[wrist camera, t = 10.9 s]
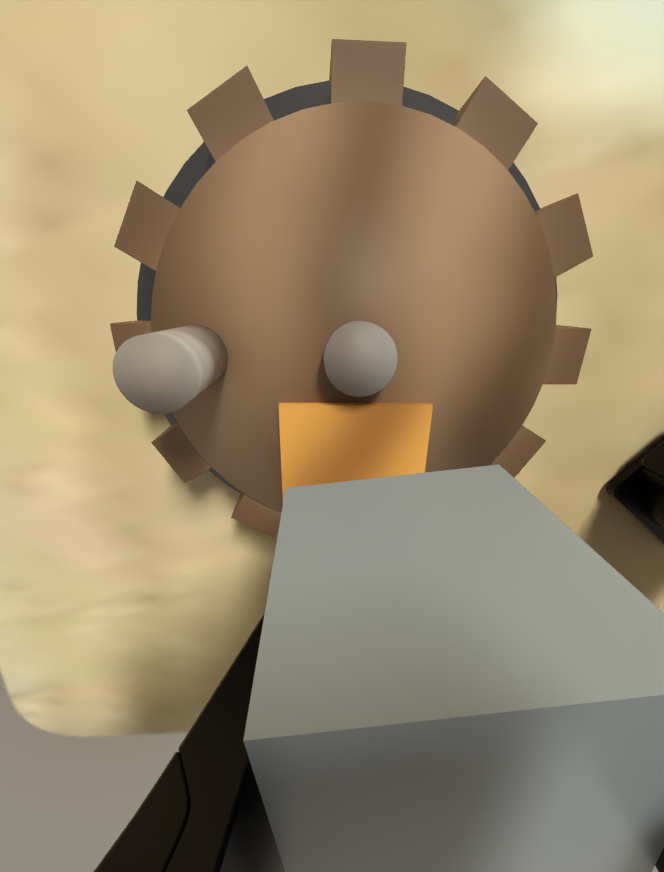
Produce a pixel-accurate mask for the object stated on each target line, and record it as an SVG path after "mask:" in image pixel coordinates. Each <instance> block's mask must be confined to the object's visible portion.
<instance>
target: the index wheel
mask: <svg viewBox="0 0 664 872" xmlns="http://www.w3.org/2000/svg"><path fill="white" fill-rule="evenodd" d="M405 54H406V43H403V42H382V41H361V40H341V39H332V46H331V62H330V78H329V104H326V105H321V106H316V107H312V108H307V109H302V110H300V111H297V112H295V113H292V114H290V115H287V116H285V117H282V118H279V119H277V120H274V119H273V117H272V115H271V113H270V111H269V109H268V107H267V105H266V103H265V101H264V99H263V97H262V95H261V93H260V91H259V89H258V87H257V85H256V83H255V81H254V79H253V77H252V75H251V73H250V71H249V69H248V66H246V67H244V68H243V69H242V70H240V71H239V72H238V73H236V74H235V75H234V76H232V77H231V78H230V79H228V80H227V81H226V82H224V83H223V84H221V85H220V86H219V87H217V88H216V89H215V90H213V91H212V92H211V93H209V94H208V95H207V96H205V97H204V98H203V99H201V100H200V101H199V102H197V103H196V104H195V105H193V106H192V107H190V108H189V109H188V110H187V111H188V113H189V115H190V117H191V119H192V120H193V122H194V124H195V126H196V127H197V129H198V131H199V133H200V135H201V136H202V138H203V140H204V142H205V144H206V145H207V147H208V149H209V151H210V152H211V154H212V156H213V158H214V160H215V161H216V162H215V163H214V164H213V165H212V167H211V168H210V169H209V170H208V171H207V172H206V173H205V174H204V176H203V177H202V178H201V179H200V180H199V181H198V182H197V183H196V185H195V186H194V188H193V189H192V191H191V193H190V194H189V196H188V197H187V199H186V200H185V202H184V203H183V205H182V206H181V208H179V207H177V206H176V205H174V204H173V203H171V202H170V201H168V200H166V199H165V198H163V197H162V196H160V195H159V194H157V193H155V192H154V191H152V190H151V189H149V188H148V187H146V186H144V185H143V184H141V183H140V182H138V181H136V184H135V187H134V190H133V193H132V196H131V199H130V202H129V205H128V207H127V210H126V213H125V216H124V219H123V222H122V225H121V228H120V231H119V234H118V237H117V240H116V243H115V246H114V247H116V248H118V249H119V250H121V251H123V252H124V253H126V254H128V255H130V256H131V257H133V258H135V259H136V260H138V261H140V262H142V263H143V264H145V265H147V266H148V267H150V268H152V269H154V270H155V271H156V274H155V281H154V287H153V293H152V306H151V321H129V322H120V323H111V324H110V326H111V331H112V335H113V340H114V345H115V350H116V354H115V357H114V360H113V375H114V379H115V382H116V384H117V386H118V388H119V390H120V391H121V393H122V394H123V395H124V396H125V398H126V399H127V400H128V401H130V402H131V403H132V404H133V405H135V406H136V407H138V408H140V409H142V410H144V411H147V412H151V413H156V414H166V413H171V412H173V414H174V416H175V418H176V420H177V423H175V424H173V425H172V426H170V427H169V428H168V429H166V430H165V431H164V432H163V433H162V434H161V435H160V436H158V437H157V438H156V439H155V440H154V441H153V442H151V443H152V444H153V445H154V446H155V448H156V449H157V450H158V451H159V452H160V454H161V455H162V456H163V457H164V458H165V460H166V461H167V462H168V463H169V464H170V466H171V467H172V468H173V469H174V470H175V472H176V473H177V474H178V475H179V476H180V478H181V479H182V480H183V481H184V482H187V481H189V480H191V479H192V478H194V477H196V476H198V475H200V474H201V473H203V472H205V471H207V470H209V469H210V468H213V469H214V470H215V471H216V472H218V473H219V474H220V475H221V476H222V477H223V478H224V479H225V480H226V481H228V482H229V483H230V484H232V485H233V486H235V487H236V488H237V489H239V490H240V491H242V492H241V494H240V496H239V499H238V501H237V504H236V507H235V509H234V512H233V514H232V517H231V518H233V519H235V520H237V521H240V522H242V523H244V524H246V525H249V526H251V527H253V528H255V529H258V530H260V531H262V532H264V533H267V534H269V535H271V536H273V537H274V536H275V535H276V533H277V531H278V530H279V525H280V519H281V513H282V507H283V501H284V495H285V489H286V488H289V487H298V486H308V485H317V484H326V483H335V482H344V481H353V480H362V479H372V478H381V477H390V476H399V475H408V474H417V473H426V472H435V471H445V470H454V469H463V468H472V467H481V466H490V465H500V466H501V467H502V468H504V469H505V470H506V471H507V472H508V473H509V474H510V475H511V476H512V477H514V478H515V476H516V475H517V474H518V473H519V472H520V471H521V469H522V468H523V467H524V466H525V465H526V464H527V462H528V461H529V460H530V459H531V458H532V457H533V455H534V454H535V453H536V452H537V451H538V450H539V448H540V447H541V446H542V445H543V444H544V443H545V441H546V440H544V439H542V438H541V437H539V436H538V435H536V434H535V433H533V432H531V431H530V430H528V429H527V428H525V427H524V426H522V424H523V423H524V421H525V419H526V417H527V416H528V414H529V412H530V411H531V409H532V407H533V405H534V403H535V400H536V398H537V396H538V394H539V391H540V389H541V387H542V384H577V380H578V376H579V373H580V369H581V365H582V361H583V358H584V354H585V350H586V347H587V343H588V339H589V336H590V332H591V329H589V328H580V327H570V326H560V325H556V309H557V300H556V287H555V277H557V276H558V275H560V274H562V273H564V272H566V271H567V270H569V269H571V268H573V267H575V266H577V265H578V264H580V263H582V262H584V261H586V260H587V259H589V258H591V257H593V254H592V250H591V245H590V241H589V237H588V233H587V229H586V225H585V221H584V216H583V212H582V208H581V204H580V200H579V196H578V193H577V194H575V195H572V196H570V197H567V198H565V199H563V200H560V201H558V202H555V203H553V204H550V205H548V206H545V207H543V208H541V209H539V210H538V211H536V212H534V210H533V208H532V206H531V204H530V202H529V200H528V198H527V197H526V195H525V193H524V192H523V190H522V189H521V188H520V186H519V185H518V183H517V182H516V181H515V179H514V178H513V177H512V175H511V174H510V173H509V171H508V169H509V168H510V166H511V165H512V163H513V162H514V160H515V159H516V157H517V155H518V154H519V152H520V151H521V149H522V148H523V146H524V144H525V143H526V141H527V140H528V138H529V137H530V135H531V133H532V132H533V130H534V129H535V127H536V126H537V124H538V123H537V122H536V121H534V120H533V119H532V118H531V117H530V116H529V115H528V114H527V113H526V112H525V111H523V110H522V109H521V108H520V107H519V106H518V105H517V104H516V103H515V102H514V101H512V100H511V99H510V98H509V97H508V96H507V95H506V94H505V93H504V92H503V91H501V90H500V89H499V88H498V87H497V86H496V85H495V84H494V83H493V82H492V81H490V80H489V79H488V78H487V77H486V76H485V77H484V79H483V80H482V81H481V83H480V84H479V85H478V87H477V88H476V89H475V91H474V92H473V93H472V94H471V96H470V97H469V98H468V100H467V101H466V102H465V104H464V105H463V106H462V108H461V109H460V111H459V112H458V114H457V116H456V118H455V119H454V121H453V123H452V125H451V124H449V123H447V122H445V121H443V120H441V119H439V118H437V117H435V116H433V115H431V114H427V113H424V112H421V111H417V110H414V109H411V108H407V107H404V106H402V98H403V84H404V69H405Z"/></svg>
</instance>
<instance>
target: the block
mask: <svg viewBox="0 0 664 872" xmlns="http://www.w3.org/2000/svg"><path fill="white" fill-rule="evenodd" d="M243 741H244V745H245V748H246V751H247V754H248V757H249V760H250V763H251V766H252V769H253V773H254V776H255V779H256V782H257V785H258V788H259V791H260V794H261V798H262V801H263V804H264V807H265V810H266V813H267V816H268V819H269V822H270V826H271V829H272V832H273V835H274V838H275V841H276V844H277V847H278V851H279V854H280V857H281V860H282V863H283V866H284V869H285V872H652V870H653V868H654V866H655V864H656V862H657V860H658V858H659V856H660V854H661V852H662V850H663V848H664V613H663V612H662V611H661V610H660V609H659V608H657V607H656V606H655V605H654V604H653V603H652V602H651V601H650V600H649V599H648V598H646V597H645V596H644V595H643V594H642V593H641V592H640V591H639V590H638V589H636V588H635V587H634V586H633V585H632V584H631V583H630V582H629V581H628V580H626V579H625V578H624V577H623V576H622V575H621V574H620V573H619V572H618V571H617V570H615V569H614V568H613V567H612V566H611V565H610V564H609V563H608V562H607V561H605V560H604V559H603V558H602V557H601V556H600V555H599V554H598V553H597V552H595V551H594V550H593V549H592V548H591V547H590V546H589V545H588V544H587V543H585V542H584V541H583V540H582V539H581V538H580V537H579V536H578V535H577V534H576V533H574V532H573V531H572V530H571V529H570V528H569V527H568V526H567V525H566V524H564V523H563V522H562V521H561V520H560V519H559V518H558V517H557V516H556V515H554V514H553V513H552V512H551V511H550V510H549V509H548V508H547V507H546V506H545V505H543V504H542V503H541V502H540V501H539V500H538V499H537V498H536V497H535V496H533V495H532V494H531V493H530V492H529V491H528V490H527V489H526V488H525V487H523V486H522V485H521V484H520V483H519V482H518V481H517V480H516V479H515V478H514V477H512V476H511V475H510V474H509V473H508V472H507V471H506V470H505V469H504V468H502V467H501V466H500V465H490V466H481V467H472V468H463V469H454V470H445V471H435V472H426V473H417V474H408V475H399V476H390V477H381V478H372V479H362V480H353V481H344V482H335V483H326V484H317V485H308V486H298V487H289V488H286V489H285V495H284V501H283V507H282V513H281V519H280V525H279V531H278V537H277V543H276V549H275V555H274V560H273V566H272V572H271V578H270V584H269V590H268V596H267V602H266V608H265V614H264V620H263V626H262V632H261V638H260V644H259V650H258V656H257V662H256V668H255V674H254V680H253V686H252V692H251V698H250V704H249V710H248V716H247V722H246V728H245V733H244V739H243Z"/></svg>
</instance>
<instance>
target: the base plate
mask: <svg viewBox="0 0 664 872" xmlns="http://www.w3.org/2000/svg"><path fill="white" fill-rule="evenodd" d="M264 101H265V103H266V105H267V107H268V109H269V111H270V113H271V115H272V117H273V119H274V120H277V119H279V118H282V117H285V116H287V115H290V114H292V113H295V112H297V111H300V110H302V109H307V108H312V107H316V106H321V105H326V104H329V81H325V82H320V83H315V84H309V85H304V86H299V87H295V88H292V89H290V90H287V91H284V92H282V93H279V94H276V95H274V96H271V97H268V98H266V99H264ZM402 106H404V107H407V108H411V109H414V110H417V111H421V112H424V113H427V114H431V115H433V116H435V117H437V118H439V119H441V120H443V121H445V122H447V123H449V124H451V125H452V123H453V121H454V119H455V118H456V116H457V114H458V112H459V111H458V110H456V109H454V108H452V107H451V106H449V105H447V104H445V103H443V102H441V101H439V100H437V99H435V98H434V97H432V96H430V95H427V94H424V93H421V92H418V91H415V90H412V89H409V88H406V87H403V98H402ZM215 162H216V161H215V160H214V158H213V156H212V154H211V152H210V151H209V149H208V147H207V145H206V144H205V142H204V143H203V144H202V145H201V146H200V147H199V148H198V149H197V150H196V151H195V153H194V154H193V155H192V156H191V157H190V158H189V159H188V160H187V161H186V163H185V164H184V165H183V167H182V168H181V170H180V171H179V173H178V174H177V176H176V177H175V179H174V180H173V182H172V183H171V185H170V186H169V188H168V190H167V191H166V193H165V195H164V197H163V198H165V199H166V200H168V201H170V202H171V203H173V204H174V205H176V206H177V207H179V208H181V206H182V205H183V203H184V202H185V200H186V199H187V197H188V196H189V194H190V193H191V191H192V189H193V188H194V186H195V185H196V183H197V182H198V181H199V180H200V179H201V178H202V177H203V176H204V174H205V173H206V172H207V171H208V170H209V169H210V168H211V167H212V165H213V164H214V163H215ZM508 171H509V173H510V174H511V175H512V177H513V178H514V179H515V181H516V182H517V183H518V185H519V186H520V188H521V189H522V190H523V192H524V193H525V195H526V197H527V198H528V200H529V202H530V204H531V206H532V208H533V210H534V212H536V211H538V210H539V209H540V208H539V206H538V204H537V202H536V200H535V198H534V196H533V194H532V192H531V190H530V188H529V186H528V184H527V182H526V180H525V178H524V177H523V176H522V174H521V173H520V171H519V170H518V168H517V167H516V166H515V164H514V163H512V165H511V166H510V168H509V169H508ZM155 274H156V271H155V270H154V269H152V268H150V267H148V266H147V265H145V264H143V263H142V262H141V266H140V272H139V279H138V292H137V320H138V321H151V306H152V293H153V287H154V281H155ZM555 287H556V300H557V284H556V277H555ZM165 415H166V417H167V419H168V421H169V422H170V424H171V425H173V424H175V423H177V420H176V418H175V416H174V414H173V412H171V413H166V414H165ZM209 470H210V471H211V472H212V473H213V474H214V475H215V476H217V477H218V478H219V479H221V480H222V481H224V482H225V483H226V484H228V485H229V486H230V487H232V488H233V489H235V490H236V491H238V492H240V493H241V492H242V491H240V490H239V489H237V488H236V487H235V486H233V485H232V484H230V483H229V482H228V481H226V480H225V479H224V478H223V477H222V476H221V475H220V474H219V473H218V472H216V471H215V470H214V469H213V468H210V469H209Z"/></svg>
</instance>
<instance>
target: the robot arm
mask: <svg viewBox="0 0 664 872" xmlns="http://www.w3.org/2000/svg"><path fill="white" fill-rule="evenodd" d="M620 488H621V489H620ZM619 489H620V490H619ZM607 492H608V493H609V494H610V495H611V496H612V497H613V498H614V499H615V500H616V501H617V502H618V503H619V504H620V505H621V506H622V507H624V508H625V509H626V510H627V511H628V512H629V513H630V514H631V515H632V516H633V517H634V518H635V519H636V520H637V521H638V522H639V523H641V524H642V525H643V526H644V527H645V528H646V529H647V530H648V531H649V532H650V533H651V534H652V535H653V536H654V537H655V538H657V539H658V540H659V541H660V542H661V543H662V544H663V545H664V438H663V439H662V440H661V441H659V442H658V443H657V444H656V445H655V446H653V447H652V448H651V449H650V450H649V451H648V452H646V453H645V454H644V455H643V456H642V457H640V458H639V459H638V460H637V461H636V462H634V463H633V464H632V465H631V466H630V467H628V468H627V469H626V470H625V471H624V472H622V473H621V474H620V475H619V476H618V477H616V478H615V479H614V480H613V481H612V482H611V483H610V484H609V485H608V487H607ZM264 614H265V613H264ZM263 620H264V615H263V616H262V618H261V620H260V621H259V623H258V624H257V626H256V627H255V629H254V631H253V632H252V634H251V635H250V637H249V638H248V640H247V642H246V643H245V645H244V646H243V648H242V649H241V651H240V653H239V654H238V656H237V657H236V659H235V660H234V662H233V663H232V665H231V667H230V668H229V670H228V671H227V673H226V674H225V676H224V678H223V679H222V681H221V682H220V684H219V685H218V687H217V689H216V690H215V692H214V693H213V695H212V696H211V698H210V700H209V701H208V703H207V704H206V706H205V707H204V709H203V711H202V712H201V714H200V715H199V717H198V718H197V720H196V721H195V723H194V725H193V726H192V728H191V729H190V731H189V732H188V734H187V736H186V737H185V739H184V740H183V742H182V743H181V745H180V747H179V752H176V753H175V754H174V756H173V757H172V759H171V761H170V762H169V763H168V765H167V767H166V768H165V770H164V772H163V773H162V774H161V776H160V778H159V779H158V781H157V782H156V784H155V785H154V787H153V788H152V790H151V791H150V793H149V794H148V796H147V797H146V799H145V800H144V802H143V803H142V805H141V806H140V808H139V809H138V811H137V812H136V814H135V815H134V817H133V818H132V819H131V821H130V822H129V824H128V825H127V826H126V828H125V829H124V831H123V832H122V834H121V835H120V836H119V837H118V839H117V840H116V842H115V843H114V844H113V846H112V847H111V849H110V850H109V851H108V853H107V854H106V855H105V857H104V858H103V860H102V861H101V862H100V864H99V865H98V867H97V868H96V869H95V871H94V872H285V869H284V866H283V863H282V860H281V857H280V854H279V851H278V847H277V844H276V841H275V838H274V835H273V832H272V829H271V826H270V822H269V819H268V816H267V813H266V810H265V807H264V804H263V801H262V798H261V794H260V791H259V788H258V785H257V782H256V779H255V776H254V773H253V769H252V766H251V763H250V760H249V757H248V754H247V751H246V748H245V745H244V741H243V739H244V733H245V728H246V722H247V716H248V710H249V704H250V698H251V692H252V686H253V680H254V674H255V668H256V662H257V656H258V650H259V644H260V638H261V632H262V626H263ZM655 866H656V868H657V870H658V871H659V872H664V848H663V850H662V852H661V854H660V856H659V858H658V860H657V862H656V864H655Z"/></svg>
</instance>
